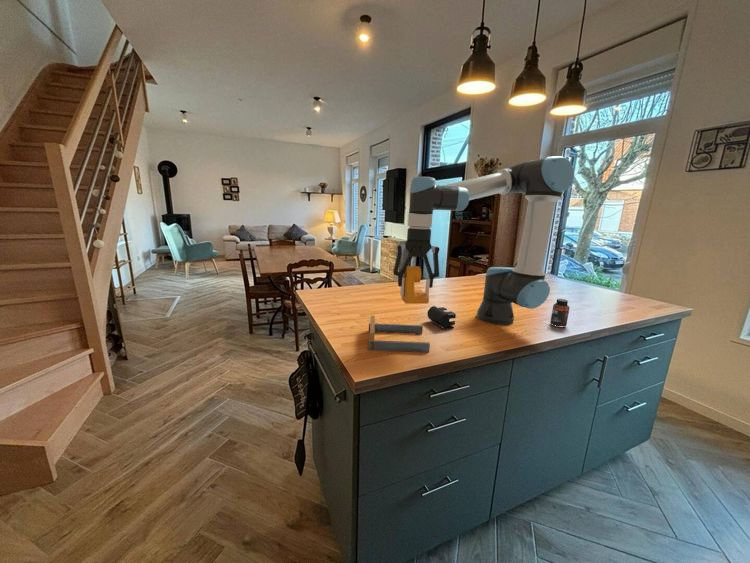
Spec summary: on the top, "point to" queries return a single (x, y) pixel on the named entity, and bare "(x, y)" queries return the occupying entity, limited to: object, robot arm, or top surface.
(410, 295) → the bracket
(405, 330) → the rail
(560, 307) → the supplement bottle
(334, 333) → the top surface
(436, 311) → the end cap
